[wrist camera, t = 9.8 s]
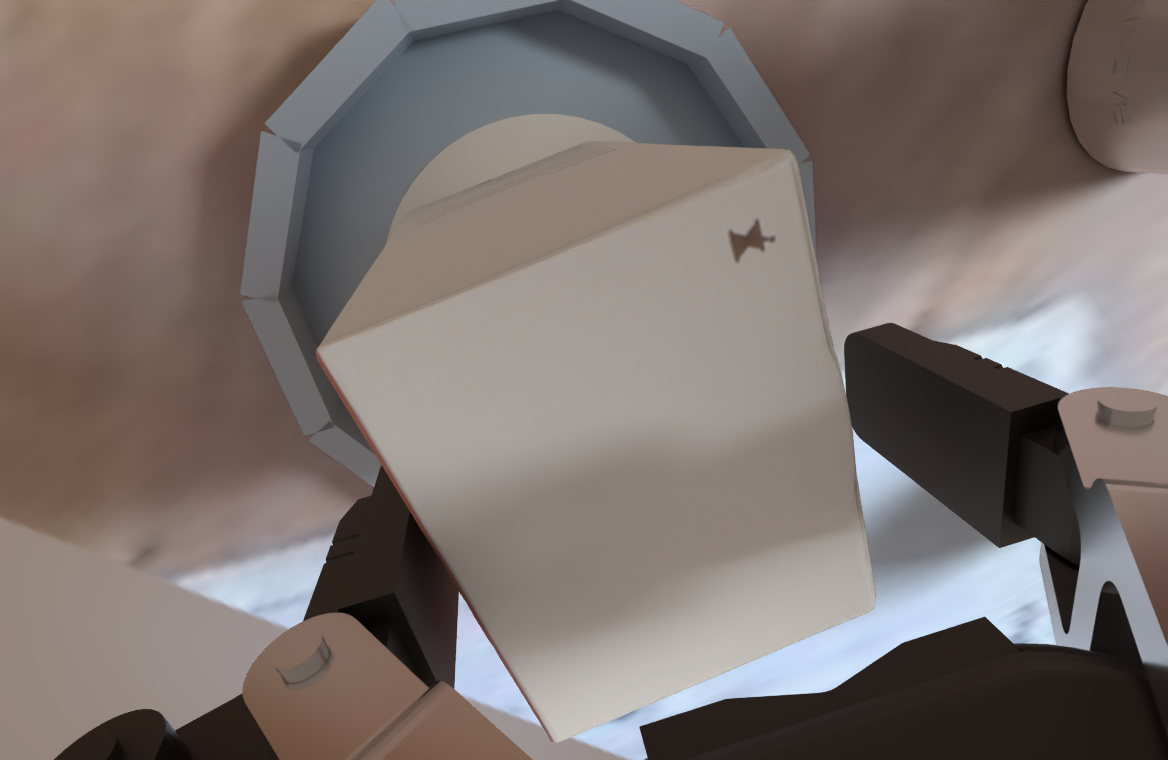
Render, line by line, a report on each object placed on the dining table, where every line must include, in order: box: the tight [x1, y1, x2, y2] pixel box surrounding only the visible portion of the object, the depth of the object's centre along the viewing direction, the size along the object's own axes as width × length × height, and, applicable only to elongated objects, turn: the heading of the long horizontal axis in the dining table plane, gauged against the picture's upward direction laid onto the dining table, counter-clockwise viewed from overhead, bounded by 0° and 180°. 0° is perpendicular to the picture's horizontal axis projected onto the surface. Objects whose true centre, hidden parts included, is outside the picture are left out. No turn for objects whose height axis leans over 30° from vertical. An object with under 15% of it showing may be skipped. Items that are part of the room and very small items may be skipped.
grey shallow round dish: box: [240, 0, 817, 487], centre depth 20 cm, size 18×18×2 cm
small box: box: [315, 141, 876, 742], centre depth 14 cm, size 8×6×13 cm
